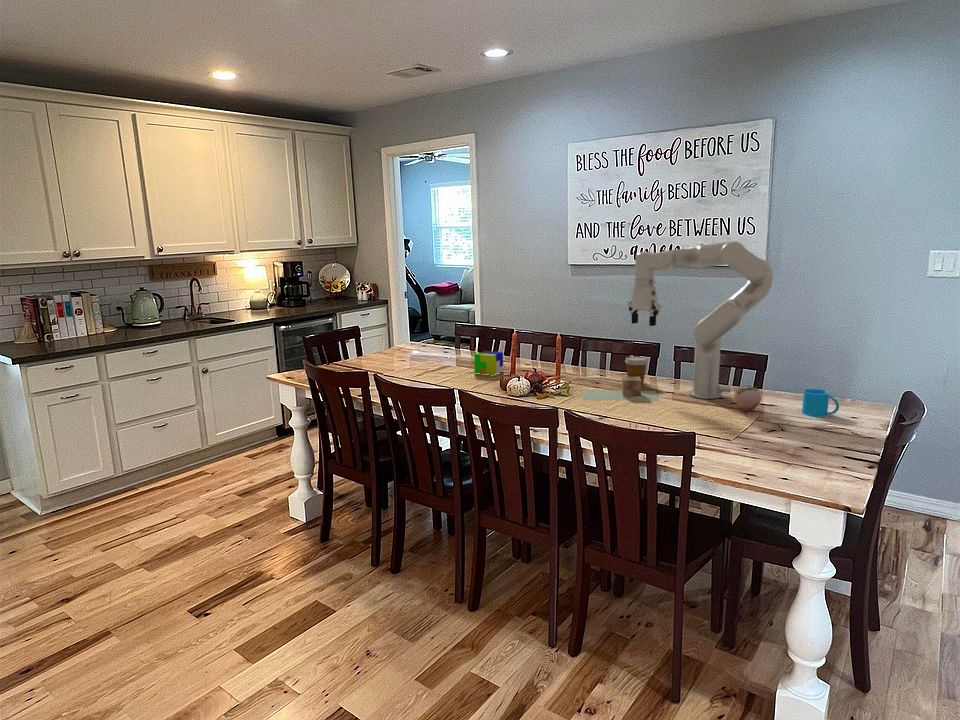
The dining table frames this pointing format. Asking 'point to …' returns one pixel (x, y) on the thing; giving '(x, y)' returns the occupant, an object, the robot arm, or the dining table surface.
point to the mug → (817, 403)
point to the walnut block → (631, 387)
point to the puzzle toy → (488, 362)
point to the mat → (617, 395)
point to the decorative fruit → (747, 398)
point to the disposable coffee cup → (636, 367)
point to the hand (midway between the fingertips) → (643, 324)
